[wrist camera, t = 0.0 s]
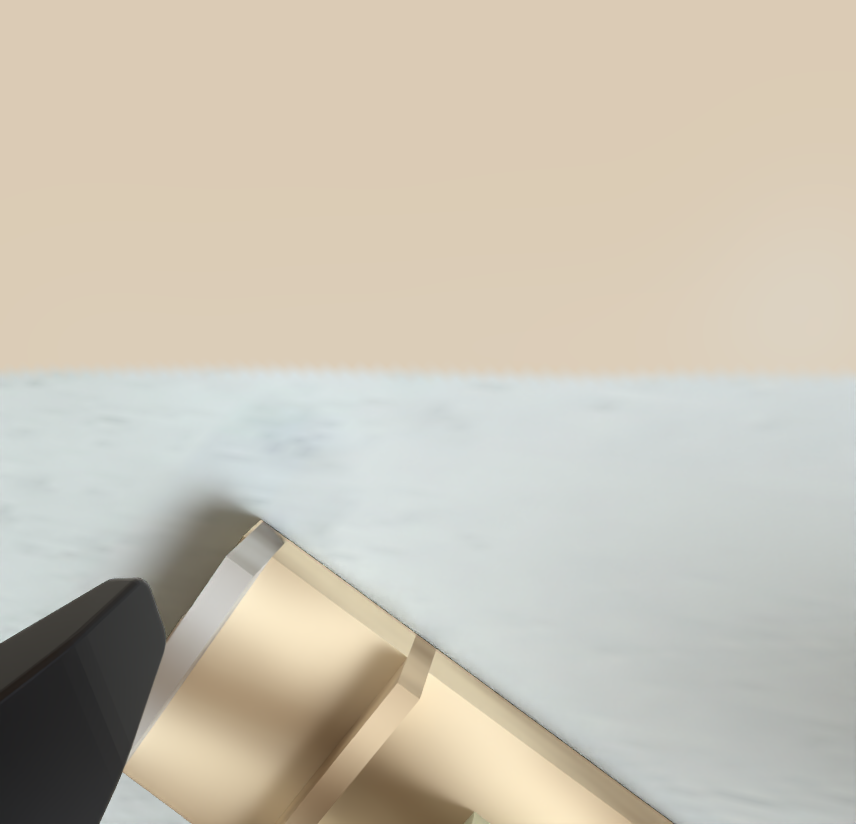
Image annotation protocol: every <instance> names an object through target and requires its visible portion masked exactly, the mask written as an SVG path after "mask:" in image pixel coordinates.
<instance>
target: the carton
mask: <svg viewBox="0 0 856 824" xmlns="http://www.w3.org/2000/svg"><path fill="white" fill-rule="evenodd" d="M464 824H490V823H489V822H488V821H486V820H485V819H484V818H482V817H481V816H480V815H478V814H477V813H476V812H473V814H472V815H471V816H470V817H469V818H468V819H467V820H466V821H465V823H464Z"/></svg>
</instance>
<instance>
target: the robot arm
mask: <svg viewBox="0 0 856 824" xmlns="http://www.w3.org/2000/svg"><path fill="white" fill-rule="evenodd" d="M165 645H166V634H165V629H164V626H163V623H162V620H161V617H160V614H159V611H158V608H157V605H156V602H155V599H154V597H153V594H152V591H151V588H150V586H149V584H148V583H147V582H146V581H145V580H143V579H141V578H114V579H110V580H108V581H106V582H104V583H102V584H101V585H99V586H97V587H95V588H94V589H92V590H90V591H89V592H87V593H85V594H84V595H82V596H80V597H78V598H77V599H75V600H73V601H72V602H70V603H68V604H67V605H65V606H63V607H61V608H60V609H58V610H56V611H55V612H53V613H51V614H50V615H48V616H46V617H45V618H43V619H41V620H39V621H38V622H36V623H34V624H33V625H31V626H29V627H28V628H26V629H24V630H22V631H21V632H19V633H17V634H16V635H14V636H12V637H11V638H9V639H7V640H5V641H4V642H2V643H0V824H99V823H100V821H101V819H102V817H103V815H104V812H105V810H106V808H107V806H108V804H109V801H110V799H111V797H112V795H113V793H114V790H115V788H116V786H117V784H118V781H119V779H120V777H121V774H122V772H123V770H124V767H125V764H126V762H127V759H128V756H129V754H130V751H131V749H132V746H133V743H134V740H135V737H136V734H137V731H138V728H139V725H140V722H141V719H142V716H143V713H144V710H145V707H146V704H147V701H148V699H149V696H150V693H151V690H152V687H153V684H154V681H155V678H156V675H157V672H158V669H159V666H160V663H161V660H162V657H163V654H164V651H165Z"/></svg>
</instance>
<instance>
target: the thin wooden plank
mask: <svg viewBox="0 0 856 824" xmlns="http://www.w3.org/2000/svg"><path fill="white" fill-rule="evenodd" d="M123 773H125V774H126V775H127V776H129V777H130V778H131V779H133V780H134V781H135V782H137V783H138V784H139V785H141V786H142V787H143V788H145V789H146V790H147V791H149V792H150V793H151V794H153V795H154V796H155V797H157V798H158V799H159V800H161V801H162V802H163V803H165V804H166V805H168V806H169V807H170V808H172V809H173V810H174V811H176V812H177V813H178V814H180V815H181V816H182V817H184V818H185V819H186V820H188V821H189V822H190V823H192V824H464V823H465V821H466V820H467V819H468V818H469V817H470V816H471V815H472V814H473V812H476V813H477V814H478V815H480V816H481V817H482V818H484V819H485V820H486V821H488V822H489V823H490V824H673V823H672V822H671V821H669V820H668V819H667V818H665V817H664V816H663V815H661V814H660V813H658V812H657V811H656V810H654V809H653V808H652V807H650V806H649V805H648V804H646V803H645V802H644V801H642V800H641V799H640V798H638V797H637V796H635V795H634V794H633V793H631V792H630V791H629V790H627V789H626V788H625V787H623V786H622V785H621V784H619V783H618V782H616V781H615V780H614V779H612V778H611V777H610V776H608V775H607V774H606V773H604V772H603V771H602V770H600V769H599V768H597V767H596V766H595V765H593V764H592V763H591V762H589V761H588V760H587V759H585V758H584V757H583V756H581V755H580V754H578V753H577V752H576V751H574V750H573V749H572V748H570V747H569V746H568V745H566V744H565V743H564V742H562V741H561V740H559V739H558V738H557V737H555V736H554V735H553V734H551V733H550V732H549V731H547V730H546V729H545V728H543V727H542V726H541V725H539V724H538V723H536V722H535V721H534V720H532V719H531V718H530V717H528V716H527V715H526V714H524V713H523V712H522V711H520V710H519V709H517V708H516V707H515V706H513V705H512V704H511V703H509V702H508V701H507V700H505V699H504V698H503V697H501V696H500V695H498V694H497V693H496V692H494V691H493V690H492V689H490V688H489V687H488V686H486V685H485V684H484V683H482V682H481V681H479V680H478V679H477V678H475V677H474V676H473V675H471V674H470V673H469V672H467V671H466V670H465V669H463V668H462V667H461V666H459V665H458V664H456V663H455V662H454V661H452V660H451V659H450V658H448V657H447V656H446V655H444V654H443V653H442V652H440V651H439V650H437V649H436V648H435V647H433V646H432V645H431V644H429V643H428V642H427V641H425V640H424V639H423V638H421V637H420V636H418V635H417V634H416V633H414V632H413V631H412V630H410V629H409V628H408V627H406V626H405V625H404V624H402V623H401V622H399V621H398V620H397V619H395V618H394V617H393V616H391V615H390V614H389V613H387V612H386V611H385V610H383V609H382V608H380V607H379V606H378V605H376V604H375V603H374V602H372V601H371V600H370V599H368V598H367V597H366V596H364V595H363V594H362V593H360V592H359V591H357V590H356V589H355V588H353V587H352V586H351V585H349V584H348V583H347V582H345V581H344V580H343V579H341V578H340V577H338V576H337V575H336V574H334V573H333V572H332V571H330V570H329V569H328V568H326V567H325V566H324V565H322V564H321V563H319V562H318V561H317V560H315V559H314V558H313V557H311V556H310V555H309V554H307V553H306V552H305V551H303V550H302V549H300V548H299V547H298V546H296V545H295V544H294V543H292V542H291V541H290V540H288V539H287V538H286V537H284V536H283V535H282V534H280V533H279V532H277V531H276V530H275V529H273V528H272V527H271V526H269V525H268V524H267V523H265V522H264V521H263V520H260V521H259V522H258V523H257V524H256V525H254V526H253V527H252V528H251V529H250V530H249V531H248V532H247V533H246V534H245V535H243V537H242V538H241V540H240V541H239V543H238V544H237V546H236V547H235V548H234V549H233V550H232V551H231V552H230V553H229V554H228V555H226V557H225V558H224V560H223V561H222V563H221V564H220V565H219V567H218V568H217V570H216V571H215V573H214V574H213V576H212V577H211V579H210V580H209V582H208V583H207V585H206V586H205V587H204V589H203V590H202V592H201V593H200V595H199V596H198V598H197V599H196V601H195V602H194V604H193V605H192V607H191V608H190V609H189V610H188V611H187V612H186V613H185V614H184V615H183V616H182V617H181V618H180V620H179V621H178V623H177V624H176V626H175V627H174V629H173V630H172V632H171V633H170V635H169V636H168V638H167V639H166V645H165V651H164V654H163V657H162V660H161V663H160V666H159V669H158V672H157V675H156V678H155V681H154V684H153V687H152V690H151V693H150V696H149V699H148V701H147V704H146V707H145V710H144V713H143V716H142V719H141V722H140V725H139V728H138V731H137V734H136V737H135V740H134V743H133V746H132V749H131V751H130V754H129V756H128V759H127V762H126V764H125V767H124V770H123Z"/></svg>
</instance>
